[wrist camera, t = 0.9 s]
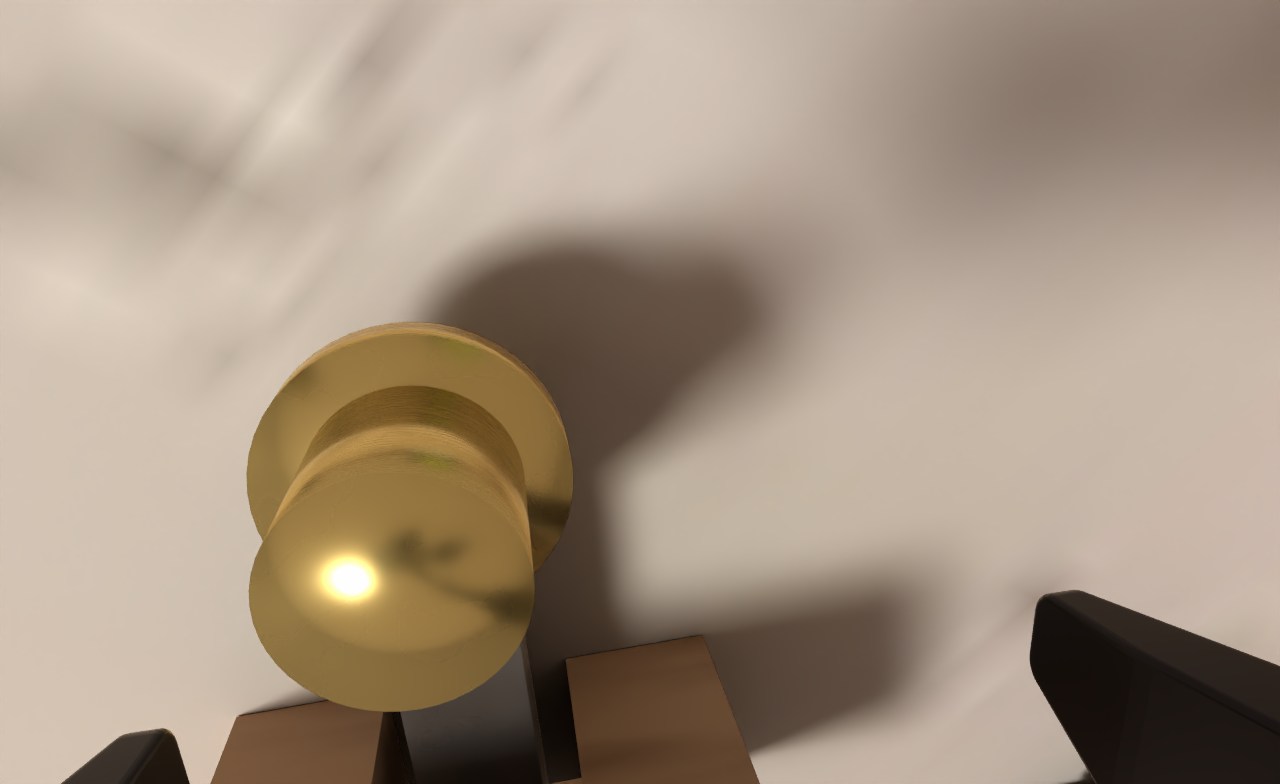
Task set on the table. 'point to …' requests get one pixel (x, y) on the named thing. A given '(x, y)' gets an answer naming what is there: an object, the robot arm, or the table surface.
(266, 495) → the grey sliding bolt
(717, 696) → the block
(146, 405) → the table surface
